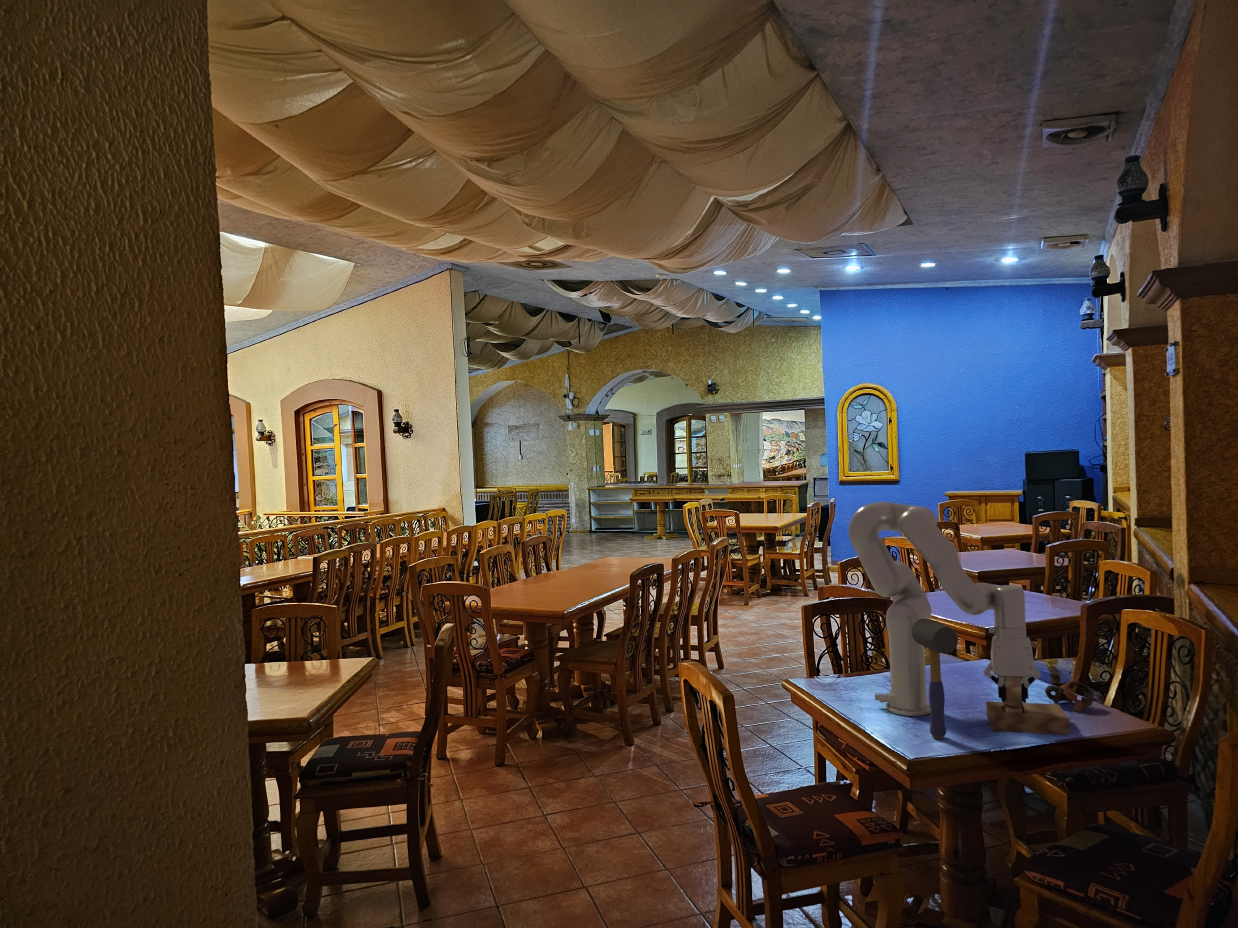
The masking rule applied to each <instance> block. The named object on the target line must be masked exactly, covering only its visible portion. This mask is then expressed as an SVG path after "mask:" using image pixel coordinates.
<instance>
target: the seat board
mask: <svg viewBox="0 0 1238 928" xmlns="http://www.w3.org/2000/svg"><path fill="white" fill-rule="evenodd" d="M985 711H986V712H985V713H986V714H985V716H986V718H987V720H988V722H989V725H990V727H991V729H992V732H1004V731H1006V732H1007V733H1023V732H1029V733H1028V734H1044V733H1047V734H1048V733H1050V734H1049V735H1065V734H1070V735H1071V728H1070V717H1069V716H1068V715H1067V714H1066V712H1065V711H1064V710H1063V709H1062V707H1061V706H1060V705H1059V703H1058V704H1055V703H1040V702H1039V703H1038V702H1036V703H1033V702H1026V703H1024V702H1023V707H1022V713H1009V712H1006V706H1004V702H1002V701H991V700H990V701H985ZM1006 732H1005V733H1006ZM1047 734H1046V735H1047Z"/></svg>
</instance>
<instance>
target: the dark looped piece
mask: <svg viewBox="0 0 1238 928" xmlns="http://www.w3.org/2000/svg"><path fill="white" fill-rule="evenodd" d="M1076 687H1078V688H1079V689H1080V691H1083V692H1086V693H1088V695H1089V696H1088V697H1087V696H1082V697H1081V700H1080V699H1078V695H1077V694H1076V693H1074V692H1073V691H1072V689H1074V688H1076ZM1044 691H1045V692H1044V693H1045V696H1046V697H1047V698H1048V699H1049V700H1051V701H1053V704H1058V705H1059V703H1060V702H1068V703H1073V702H1074V703H1075V704H1074V706H1073V711H1075V712H1077V713H1080V712H1081V711H1082V709H1083V710H1085V709H1086V708H1089V707H1091V706H1092V705H1093V703H1094V691H1093V690H1092V689H1091V687H1090V686H1088V685H1086V684H1084V683H1082V682H1080V681H1078V680H1077V681H1075V680H1068V681H1066V683H1064V684H1062V685H1060V686H1057V685H1054V684H1053V685H1052V684H1050V685H1048V686H1047V687H1046V688H1045V689H1044ZM1053 692H1054V694H1052V693H1053Z"/></svg>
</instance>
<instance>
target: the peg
mask: <svg viewBox="0 0 1238 928" xmlns="http://www.w3.org/2000/svg"><path fill="white" fill-rule="evenodd" d="M1003 684H1004V687H1005V702H1004V706H1006V712H1009V713H1022V707H1023V703H1024V702H1023V701H1022V677H1004V681H1003Z"/></svg>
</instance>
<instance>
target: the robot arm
mask: <svg viewBox="0 0 1238 928" xmlns="http://www.w3.org/2000/svg"><path fill="white" fill-rule="evenodd" d="M883 531H890V532H897V533H902V535H903V536H904V537H905V538H906V540H907V541H908V542H909V543H910V544H911V545H912V546H913V548H914V549H915V550H916V551H917V552H918V553H919V554H920V556H922V558H923V559H924V560H925V561H926V563H927V564H928V565H929V567H930V568H931V570H932V573H933V575H934V576H935V577H936V579H937V581H938V583H939V585H940V586H941V587H942V589H943V590H944V592H945V593H946V595H947V596H949V598H950V599H951V600H952V601H953V602H954V603H955V604H956V606H957V607H958V608H959V609H960V610H961V611H963V612H964V613H966V614H967V615H970V616H980V615H981V614H983V613H985V612H987V611H989V610H993V613H994V614H993V616H994V618H993V619H994V625H993V627H988V631H989V633H990V634H994V635H993V636H992V639H991V645H990V661H989V663H988V665H987V666H986V667H985V668H984V670H983V671H982V673H983V675H984V676H985V677H987V678H988V679H990V680H991V681H992V682H993V683H994V684H996V685H997V693H998V698H999V699H1000V701H1001V702H1005V687H1004V677H1022V701H1023V703H1027V699H1029V688H1030V686H1031V685H1032V684H1033V683H1034V682H1035V681H1037V680H1038V679H1040V678H1041V677H1042V676H1043V674H1042V673H1041V671H1040V670H1039V669H1038V667H1037V666H1036V665H1035V663H1034V655H1033V648H1032V642H1031V640H1030V639H1031V638H1030V637H1028V636H1027V626H1026V624H1027V623H1026V604H1025V603H1026V600H1025V599H1026V597H1025V591H1024V589H1023V587H1021V586H1018V585H1012V584H1008V585H1007V584H1005V585H999V584H992V583H986V582H976V583H975V582H974V581H973V580H972V579H971V578H970V577H969V575H968V574H967V573H966V572H965V570H964V569H963V566H962V565H961V563H960V559H959V555H958V550H957V547H956V546H955V545H954V543H952V542H951V541H950V540H949V538H948V537H947V536H946V535H945V534H944V533H943V532H942V531H941V529H940V528H939V527H938V519H937V516H936V515H935V513H934V512H933V511H932V510H931V509H930V508H928V507H926V506H925V507H924V506H919V505H909V504H905V503H904V504H903V503H897V502H890V501H889V502H888V501H879V502H872V503H868V504H865V505H863V506H861V507H859V508H858V509H857V510H856V511H855V512H854V513H853V515H852V517H851V518H850V521H849V524H848V538H849V541H850V544H851V545H852V548H853V550H854V552H855V553H856V555H857V557H858V560H859V561H860V564H861V566H862V568H863V570H864V572H865V573H866V575H867V578H868V579H869V581H870V583H871V585H872V588H873V589H874V591H875V593H876V594H878V595H879V596H880V597H883V598H891V600H892V603H891V604H890V605H889V607H888V609H887V611H886V614H885V624H886V630H887V636H888V648H889V668H890V669H889V670H890V671H889V672H890V690H889V692H886V693H883V694H882V693H874V700H875V702H876V701H877V702H879V703H886V704H885V708H886V711H889V712H890V713H892V714H895V715H898V716H899V715H900V716H908V717H909V716H911V717H918V716H920V717H921V716H926V715H931V709H930V703H929V702H927V678H926V677H927V676H926V655H925V654H926V653H925V647H924V646H922V645H920V644H919V643H917V642H916V641H915V640H914V639H913V637H912V633H911V631H912V627H913V624H914V623H915V622H916V621H918V620H919V619H930V620H931V618H932V617H931V616H932V607H931V603H930V601H929V600H928V597H927V595H926V593H925V592H924V589H923V588H922V586H921V584H920V582H919V580H918V578H917V576H916V575H915V573H914V572H913V570H912V569H911V568H910V567H909V566H908V565H907V564H906V563H904V562H902V561H899V560H896V561H895V560H894V559H893V557H892V555H891V553H890V551H889V549H888V548H887V546H886V544H885V543H884V541H883V540H882V539H881V537H880V535H879V534H880V532H883ZM991 672H992V673H991Z"/></svg>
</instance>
